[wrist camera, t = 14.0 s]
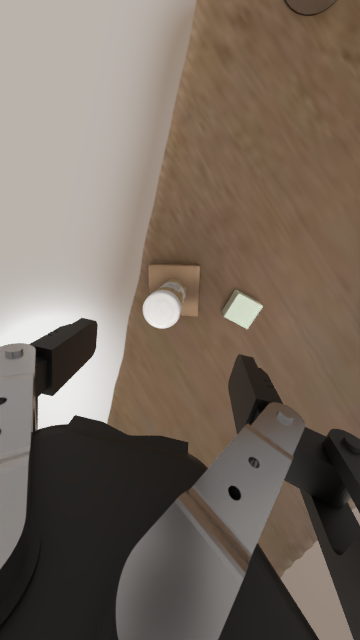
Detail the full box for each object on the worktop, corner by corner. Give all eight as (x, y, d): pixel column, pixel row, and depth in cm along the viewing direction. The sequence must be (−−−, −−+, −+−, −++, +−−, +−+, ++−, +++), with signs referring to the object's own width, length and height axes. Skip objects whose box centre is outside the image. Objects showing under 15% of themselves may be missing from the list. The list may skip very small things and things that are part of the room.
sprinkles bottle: (181, 306, 38) (172, 335, 25) (158, 298, 38) (137, 322, 25) (190, 283, 36) (185, 300, 24) (166, 274, 36) (148, 286, 24)
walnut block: (153, 263, 40) (148, 264, 36) (200, 264, 39) (200, 266, 35) (154, 308, 43) (149, 314, 39) (197, 310, 42) (197, 316, 38)
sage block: (235, 288, 40) (238, 292, 36) (257, 301, 40) (263, 306, 37) (221, 310, 42) (223, 316, 38) (243, 322, 42) (247, 329, 38)
